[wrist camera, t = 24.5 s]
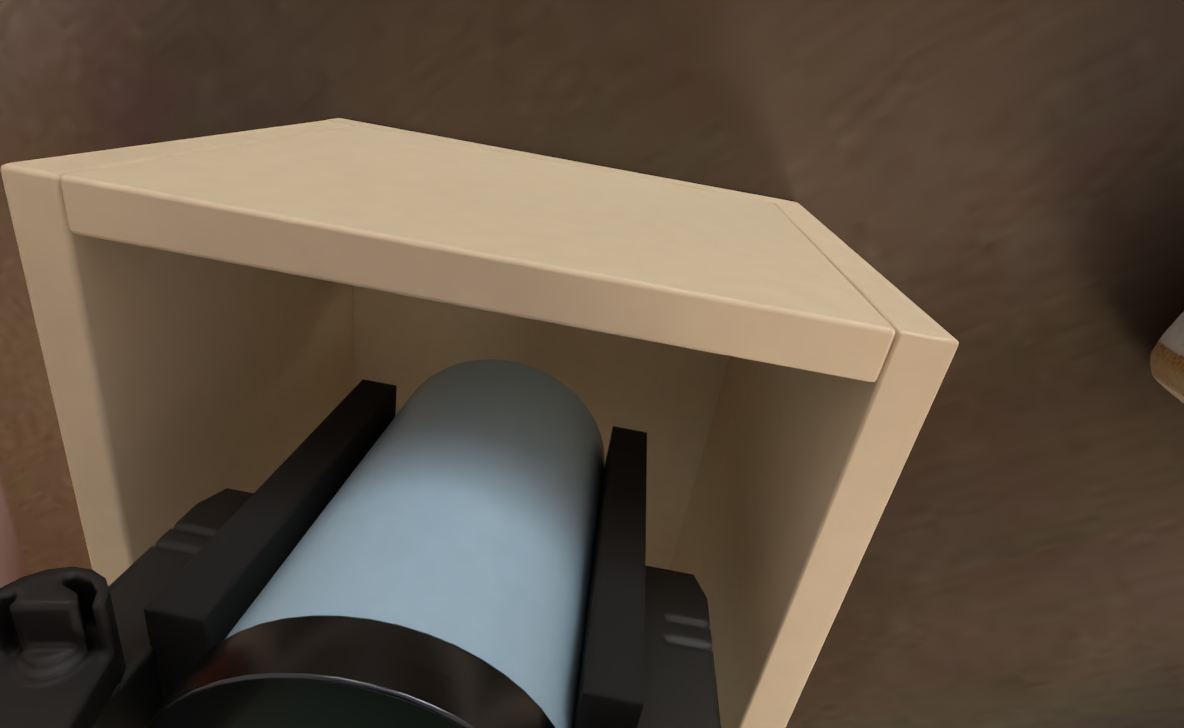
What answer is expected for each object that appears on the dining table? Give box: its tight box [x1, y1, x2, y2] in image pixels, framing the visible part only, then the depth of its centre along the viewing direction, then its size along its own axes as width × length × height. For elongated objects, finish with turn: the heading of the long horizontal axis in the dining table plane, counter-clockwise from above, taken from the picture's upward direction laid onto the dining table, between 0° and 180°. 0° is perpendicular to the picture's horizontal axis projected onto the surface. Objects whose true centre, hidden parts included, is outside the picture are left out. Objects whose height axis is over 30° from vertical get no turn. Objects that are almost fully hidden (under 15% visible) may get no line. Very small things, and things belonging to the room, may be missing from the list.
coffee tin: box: [146, 359, 605, 728], centre depth 11 cm, size 5×5×8 cm
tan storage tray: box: [1, 118, 959, 728], centre depth 16 cm, size 16×13×10 cm
